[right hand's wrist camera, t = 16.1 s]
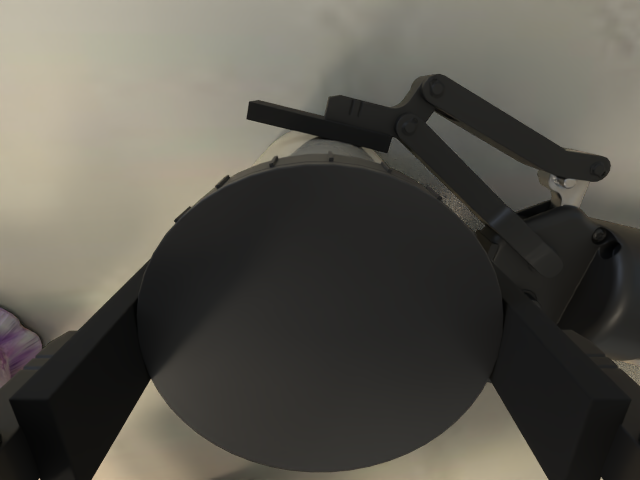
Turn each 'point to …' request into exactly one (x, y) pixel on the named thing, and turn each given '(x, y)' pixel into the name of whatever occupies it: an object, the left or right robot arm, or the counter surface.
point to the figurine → (15, 346)
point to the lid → (319, 314)
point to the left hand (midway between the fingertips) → (237, 209)
